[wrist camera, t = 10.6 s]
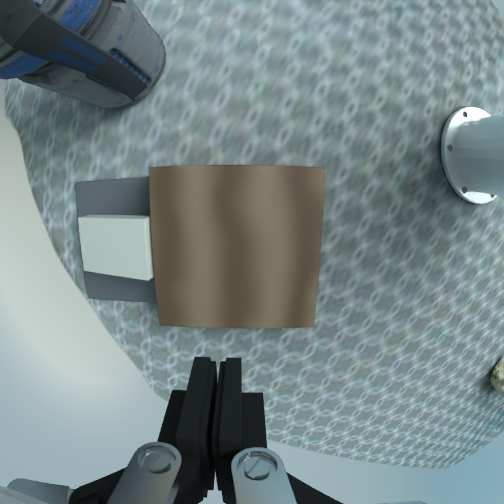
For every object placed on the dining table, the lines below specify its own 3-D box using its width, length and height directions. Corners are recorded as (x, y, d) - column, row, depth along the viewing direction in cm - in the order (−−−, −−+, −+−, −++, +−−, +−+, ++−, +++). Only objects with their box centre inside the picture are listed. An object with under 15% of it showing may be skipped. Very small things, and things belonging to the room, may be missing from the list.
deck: (314, 167, 31) (324, 167, 27) (306, 310, 35) (313, 327, 31) (160, 167, 31) (149, 167, 27) (168, 309, 35) (159, 325, 31)
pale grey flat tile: (154, 215, 29) (143, 219, 27) (158, 274, 31) (148, 280, 29) (90, 214, 31) (78, 217, 30) (95, 265, 33) (84, 270, 31)
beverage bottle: (129, 144, 30) (-71, 127, 6) (70, 72, 27) (-90, 12, 3) (201, 81, 28) (109, -83, 4) (133, 13, 25) (23, -113, 1)
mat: (157, 176, 31) (156, 176, 31) (164, 301, 35) (163, 302, 34) (77, 182, 31) (76, 182, 30) (89, 297, 34) (88, 298, 34)
